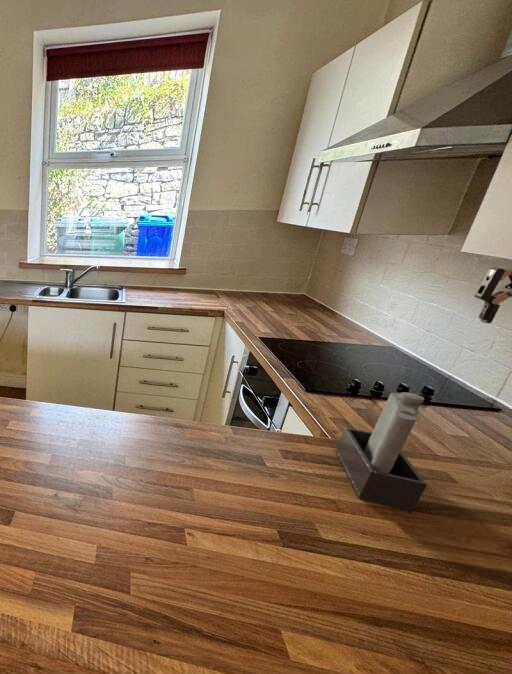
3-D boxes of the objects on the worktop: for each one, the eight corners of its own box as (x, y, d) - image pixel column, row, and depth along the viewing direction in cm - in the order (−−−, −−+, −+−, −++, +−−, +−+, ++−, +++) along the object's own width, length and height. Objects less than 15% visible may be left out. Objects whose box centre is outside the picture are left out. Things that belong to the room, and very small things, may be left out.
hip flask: (359, 456, 97) (395, 380, 89) (381, 463, 94) (420, 386, 86) (360, 488, 85) (401, 404, 77) (385, 496, 83) (430, 411, 75)
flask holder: (378, 460, 97) (389, 436, 94) (412, 512, 80) (427, 484, 77) (334, 450, 100) (344, 427, 98) (358, 498, 83) (371, 471, 81)
